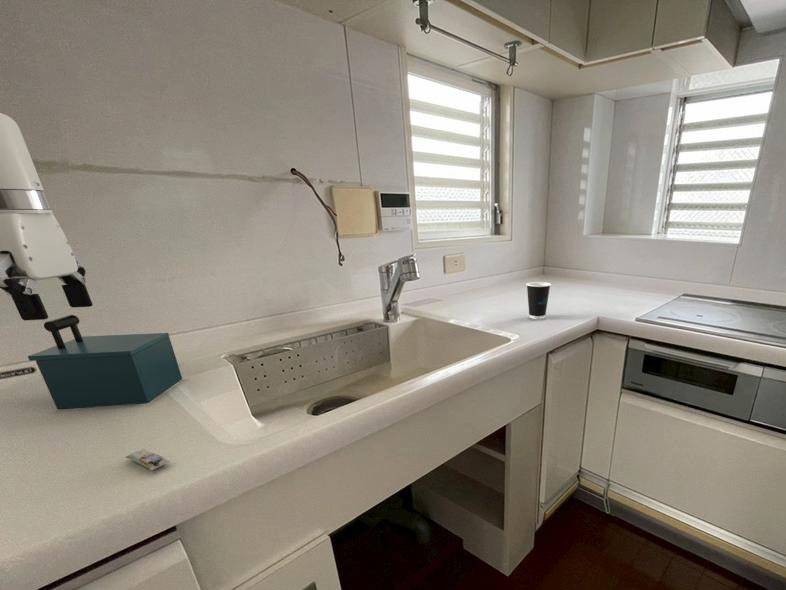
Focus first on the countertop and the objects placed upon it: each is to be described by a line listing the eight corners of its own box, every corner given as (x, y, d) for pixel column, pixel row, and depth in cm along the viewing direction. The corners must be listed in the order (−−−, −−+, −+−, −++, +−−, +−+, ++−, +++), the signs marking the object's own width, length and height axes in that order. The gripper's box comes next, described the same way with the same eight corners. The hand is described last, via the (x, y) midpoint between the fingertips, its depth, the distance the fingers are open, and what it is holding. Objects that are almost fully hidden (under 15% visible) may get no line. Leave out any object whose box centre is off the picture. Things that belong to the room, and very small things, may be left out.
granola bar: (125, 460, 54) (122, 453, 54) (145, 451, 56) (142, 445, 56) (152, 473, 51) (149, 466, 51) (172, 464, 53) (170, 457, 53)
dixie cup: (529, 313, 137) (530, 281, 133) (552, 315, 134) (553, 282, 130) (522, 318, 130) (522, 284, 126) (545, 321, 127) (547, 286, 123)
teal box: (57, 409, 68) (35, 360, 65) (104, 383, 79) (87, 340, 76) (148, 402, 71) (131, 355, 68) (182, 378, 81) (169, 336, 78)
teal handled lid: (29, 360, 65) (13, 327, 63) (82, 340, 76) (71, 311, 73) (131, 355, 68) (120, 323, 66) (169, 336, 78) (160, 308, 76)
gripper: (33, 205, 69) (73, 303, 76) (-79, 202, 53) (-16, 327, 60) (84, 205, 71) (119, 301, 77) (-10, 202, 55) (44, 324, 61)
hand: (60, 312), depth 68 cm, fingers open, 9 cm apart
